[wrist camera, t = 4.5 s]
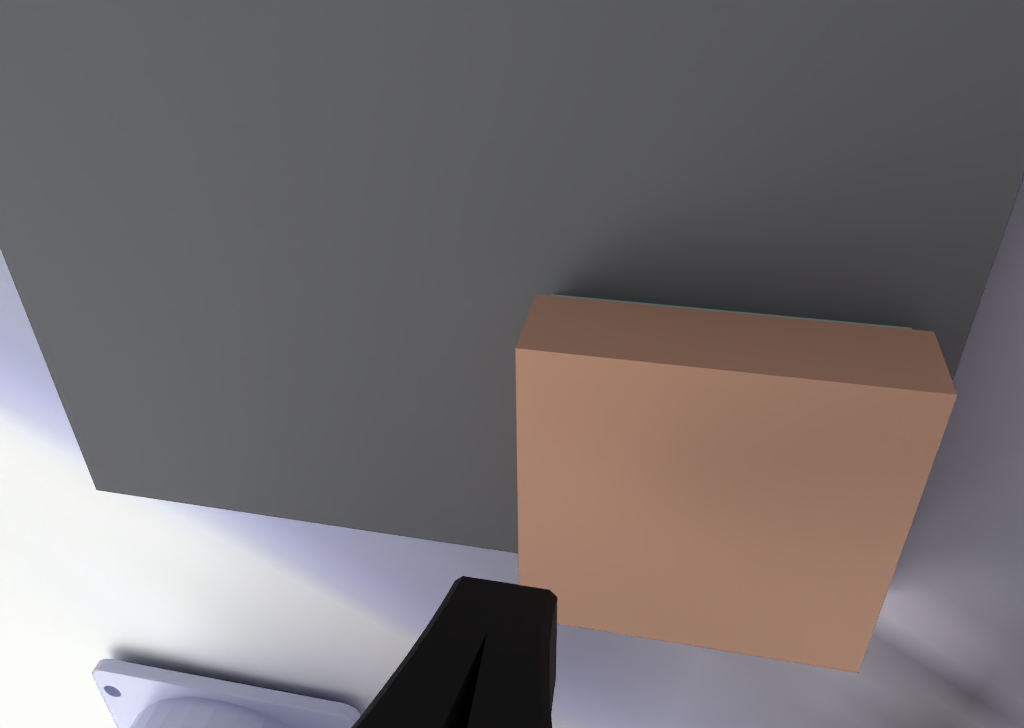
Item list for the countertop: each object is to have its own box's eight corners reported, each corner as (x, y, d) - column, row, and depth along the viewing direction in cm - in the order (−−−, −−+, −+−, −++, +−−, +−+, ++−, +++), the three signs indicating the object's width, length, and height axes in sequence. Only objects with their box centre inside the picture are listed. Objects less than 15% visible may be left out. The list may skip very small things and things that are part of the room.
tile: (539, 539, 17) (845, 584, 16) (518, 617, 16) (858, 672, 15) (540, 282, 14) (929, 317, 13) (515, 348, 12) (957, 394, 11)
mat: (871, 591, 17) (874, 606, 16) (107, 478, 20) (96, 490, 19) (1103, -95, 10) (1117, -92, 10) (-118, -105, 13) (-139, -102, 13)
